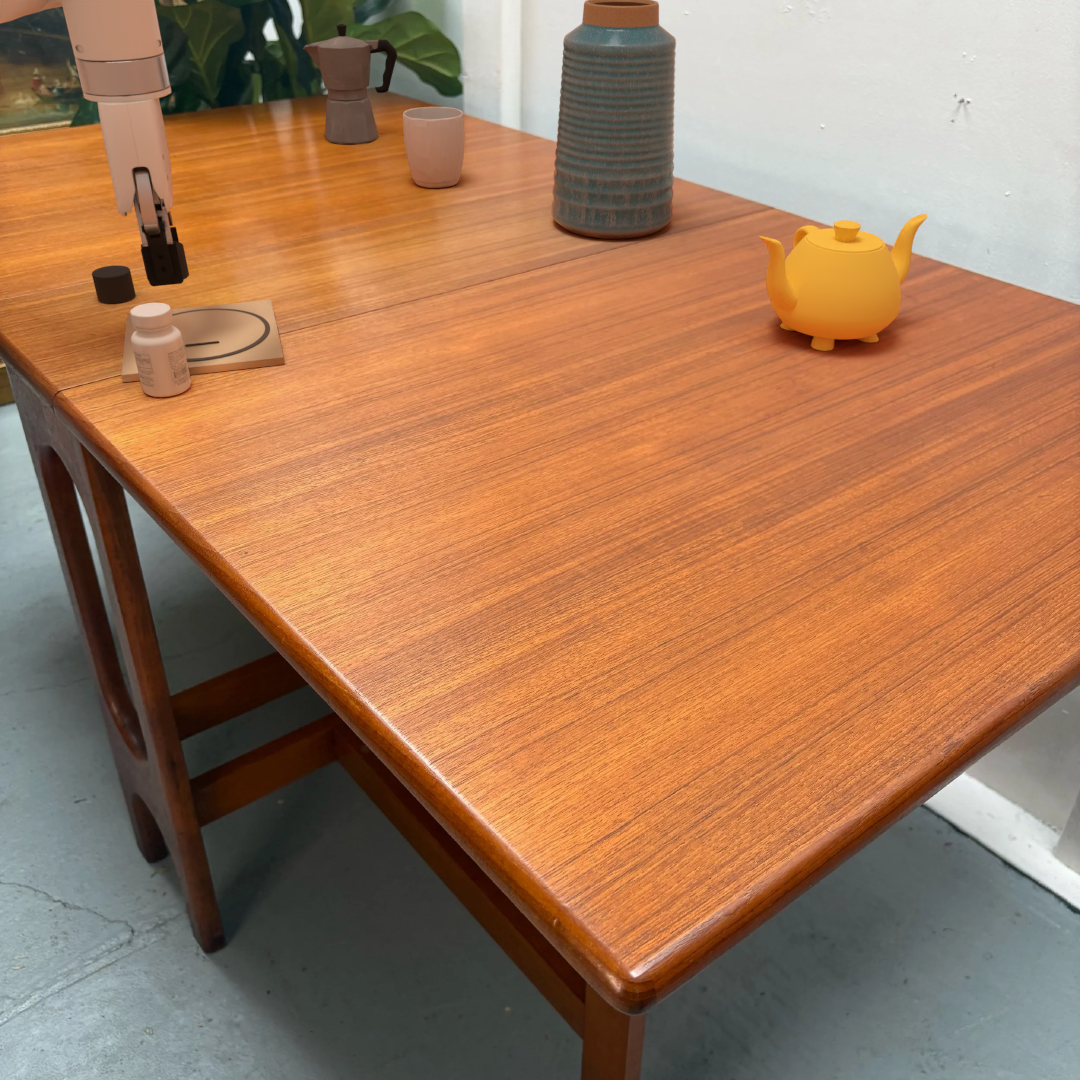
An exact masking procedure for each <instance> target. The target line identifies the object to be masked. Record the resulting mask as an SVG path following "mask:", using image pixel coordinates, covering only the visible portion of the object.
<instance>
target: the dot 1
mask: <svg viewBox="0 0 1080 1080" xmlns="http://www.w3.org/2000/svg"><path fill="white" fill-rule="evenodd" d="M91 277H92V281H93V285H94V289H95V292H96V293H95V294H96V297H97V301H98V302H100V303H103V304H109V305H110V304H112V305H113V304H123V303H126V302H129V301H132V300H133V299H134V298H136V291H135V285H134V281H133V277H132V272H131V268H130V267H128V266H125V265H117V264H116V265H106V266H102V267H99V268H96V269H94V270H93V271H92V272H91Z"/></svg>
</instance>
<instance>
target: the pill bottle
mask: <svg viewBox="0 0 1080 1080" xmlns="http://www.w3.org/2000/svg"><path fill="white" fill-rule="evenodd" d="M171 309H172V308H171V306H170V305H169V304H167V303H164V302H147V303H141V304H138V305H135V306H134V307H132V308H131V309H130V312H129V313H131V319H132V323H133V327H134V328H135V329H136V331H135V332H134V333H133V334H132V336H131V343H132V347H133V352H134V356H135V360H136V365H137V369H138V373H139V377H140V381H139V382H140V385H141V389H142V391H143V392H144V393H145V394H146V395H148V396H150V397H153V398H168V397H173V396H177V395H180V394H182V393H184V392H186V391H188V390H189V389H190V387H191V385H192V379H191V375H190V374H189V369H188V364H187V359H186V354H185V350H184V345H183V340H182V335H181V332H180V331H179V330H178V329H177V328H176V327H174V326H171V325H172V324H173V316H172V312H171Z"/></svg>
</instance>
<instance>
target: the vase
mask: <svg viewBox="0 0 1080 1080" xmlns="http://www.w3.org/2000/svg"><path fill="white" fill-rule="evenodd" d="M581 21H582V22H581V24H579V25H578V26H576V27H574V29H572V30H571V31H570V32H568V33H567V34H566V35H564V37H563V42H562V44H563V45H562V47H563V50H562V66H561V77H560V79H561V82H560V91H559V94H560V95H559V107H558V120H557V135H556V139H557V140H556V148H555V153H554V154H555V159H554V163H553V165H554V172H553V185H552V197H553V199H552V203H551V212H550V213H551V217H552V219H553V220H554V221H555V222H556V223H557V224H558V225H559V226H561V227H562V228H563V229H565V230H566V231H568V232H571V233H574V234H576V235H579V236H585V237H589V238H595V239H607V240H608V239H609V240H623V239H624V240H625V239H634V238H640V237H645V236H649V235H652V234H655V233H657V232H659V231H661V230H662V229H663V228H665V227H666V226H667V225H669V224H670V222H671V221H672V220H673V216H674V214H673V213H674V206H673V199H674V188H673V185H674V182H675V177H674V170H675V162H674V158H675V153H674V148H675V145H674V140H675V137H674V135H675V103H676V100H675V95H676V91H675V90H676V89H675V87H676V82H675V81H676V55H677V53H676V49H677V40H676V37H675V36H674V35H672V33H670V32H669V31H668V30H666V29H665V28H664V27H663V26H662V25H660V3H659V2H658V1H656V0H585V1H584V2H583V10H582V20H581Z"/></svg>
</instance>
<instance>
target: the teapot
mask: <svg viewBox="0 0 1080 1080" xmlns="http://www.w3.org/2000/svg"><path fill="white" fill-rule="evenodd" d="M927 218H928V214H927V213H923V214H918V215H916V216H914V217H912V218H911V219H909V220H907V221H906V222H905V224H904V225H902V226H903V227H902V228H901V229H900V231H899V233H898V234H897V237H896V240H895V242H894V244H893V247H892V248H891V250H889V248H888V246H887V245H886V242H885V241H884V240H883V239H882V238H881V237H879V236H878V235H876V234H873V233H870V232H868V231H864V230H861V228H862V224H860V223H859V222H858V221H854V220H850V219H849V220H848V219H847V220H846V219H842V220H841V219H840V220H837V221H834V222H833V227H829V228H828V227H827V228H819V227H818V226H815V225H812V224H811V225H810V224H809V225H807V224H806V225H803V226H800V227H799V228H798V229H797V230H796V231H795V233H794V236H793V240H792V248H791V249H792V250H791V251H790V253H789V254H788V255H787V256H786V253H785V249H784V246H783V244H782V243H781V241H779V240H777V239H776V238H775V239H774V238H771V237H767V236H763V235H758V237H759V239H760V240H761V241H762V242H763V243H764V244H765V245H766V248H767V249H768V264H767V268H766V269H767V270H766V276H765V288H766V293H767V295H768V297H769V302H770V306H771V308H772V310H773V312H775V314H776V315H777V317H778V319H780V321H781V323H780V325H779V327H780V328H781V329H784V330H785V331H791V332H793V331H796V332H798V333H801V334H804V335H808V336H811V337H812V340H811V343H810V347H811V348H812V349H814V350H817V351H821V352H825V351H826V352H827V351H832V350H833V349H834V348H835V340H858V341H859V342H863V343H877V342H878V341H879V340H880V338H879V337H878V333H880V332H881V331H883V330H884V329H885V328H887V327H888V326H889V325H890V324H892V322H893V321H895V319H896V318H897V317H898V315H899V314H900V310H901V303H902V289H901V286H902V285H903V283H904V282H905V280H906V279H907V277H908V274H909V270H910V267H911V260H912V252H913V244H914V240H915V238H916V237H915V236H916V234H917V231H918V230H919V228H920V227H921V225H922V224H923V223H924V222H925V221H926V219H927Z"/></svg>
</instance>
